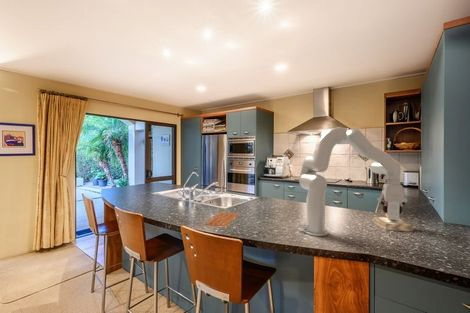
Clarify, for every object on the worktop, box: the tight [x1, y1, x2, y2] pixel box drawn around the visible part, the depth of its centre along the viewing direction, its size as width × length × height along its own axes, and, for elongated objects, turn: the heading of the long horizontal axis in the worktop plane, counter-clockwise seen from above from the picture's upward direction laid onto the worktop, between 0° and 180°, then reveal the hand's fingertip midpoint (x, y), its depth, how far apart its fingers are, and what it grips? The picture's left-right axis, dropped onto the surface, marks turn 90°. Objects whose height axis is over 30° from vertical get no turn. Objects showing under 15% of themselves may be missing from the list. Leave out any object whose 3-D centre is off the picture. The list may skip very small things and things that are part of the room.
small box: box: [384, 201, 400, 220], centre depth 130 cm, size 8×6×10 cm
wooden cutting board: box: [204, 211, 239, 228], centre depth 146 cm, size 14×30×1 cm, turn 165°
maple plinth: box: [373, 216, 414, 232], centre depth 130 cm, size 14×14×4 cm
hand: (392, 212), depth 130 cm, fingers closed on small box, 6 cm apart
